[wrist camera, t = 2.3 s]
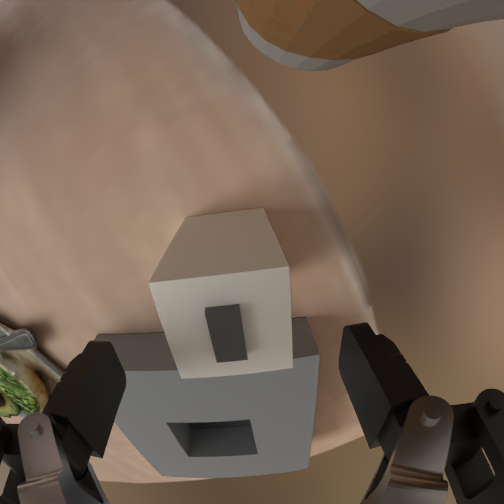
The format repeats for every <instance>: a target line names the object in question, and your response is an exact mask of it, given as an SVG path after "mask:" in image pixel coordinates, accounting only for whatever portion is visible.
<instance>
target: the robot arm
mask: <svg viewBox="0 0 504 504" xmlns="http://www.w3.org/2000/svg"><path fill="white" fill-rule="evenodd" d="M339 370H340V374H341V377H342V380H343V382H344V384H345V387H346V389H347V392H348V394H349V397H350V399H351V402H352V404H353V407H354V409H355V412H356V414H357V417H358V419H359V422H360V424H361V427H362V429H363V432H364V435H365V437H366V440H367V442H368V445H369V448H370V449H371V448H375V447H378V446H381V447H382V449H383V451H384V453H383V455H382V457H381V460H380V462H379V465H378V467H377V469H376V472H375V474H374V476H373V478H372V480H371V483H370V485H369V487H368V489H367V491H366V493H365V495H364V497H363V499H362V501H361V503H360V504H444V502H445V499H446V496H447V492H448V482H447V481H445V480H443V473H444V471H445V473H446V476H447V478H448V481H449V483H450V486H451V488H452V491H453V494H454V496H455V499H456V502H457V504H504V393H503V392H501V391H499V390H497V389H486V390H484V391H483V392H481V393H480V394H479V395H478V397H477V398H476V400H475V401H474V402H473V403H466V404H459V405H450V404H449V403H448V402H447V401H446V400H444V399H442V398H440V397H437V396H429V394H428V393H427V392H426V390H425V389H424V387H423V385H422V384H421V382H420V381H419V379H418V378H417V376H416V375H415V373H414V372H413V370H412V369H411V367H410V366H409V364H408V363H406V360H405V358H404V357H403V355H402V354H400V351H399V349H398V348H397V347H396V345H395V344H394V342H393V341H391V340H390V339H388V338H387V337H385V336H384V335H382V334H380V335H375V333H374V332H373V330H372V329H371V327H370V326H369V324H368V323H366V322H365V323H359V324H353V325H347V326H345V327H344V329H343V335H342V342H341V349H340V355H339ZM125 388H126V374H125V371H124V369H123V367H122V365H121V363H120V360H119V358H118V356H117V354H116V351H115V349H114V347H113V345H112V343H111V342H109V341H90V342H89V343H88V344H87V346H86V347H85V349H84V351H83V352H82V354H79V355H78V356H76V357H75V358H74V359H73V360H72V361H71V362H70V363H69V365H68V366H67V368H66V370H65V372H64V374H63V375H62V377H61V378H60V382H58V384H57V385H56V387H55V389H54V391H53V392H52V394H51V396H50V398H49V400H48V402H47V404H46V405H45V407H44V409H43V411H42V413H40V412H34V413H31V414H29V415H27V416H26V417H24V418H23V419H22V421H21V422H20V424H6V423H5V422H4V421H3V420H2V418H1V417H0V464H1V461H3V462H4V463H5V464H6V465H7V466H8V467H9V468H11V469H10V472H9V475H8V478H7V481H6V484H5V487H4V491H3V494H2V495H1V496H0V504H110V503H109V501H108V499H107V498H106V495H105V493H104V491H103V489H102V487H101V485H100V483H99V481H98V479H97V477H96V474H95V472H94V470H93V467H92V465H91V464H90V462H89V458H90V455H91V456H95V457H99V458H103V455H104V452H105V448H106V445H107V442H108V439H109V435H110V432H111V429H112V426H113V423H114V420H115V417H116V414H117V411H118V408H119V405H120V402H121V400H122V397H123V394H124V391H125ZM482 448H483V449H484V451H485V453H486V455H487V457H488V459H489V461H490V463H491V465H492V467H493V470H494V472H495V476H494V474H493V473H492V470H491V468H490V466H489V464H488V462H487V459H486V457H485V456H484V453H483V451H482Z"/></svg>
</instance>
